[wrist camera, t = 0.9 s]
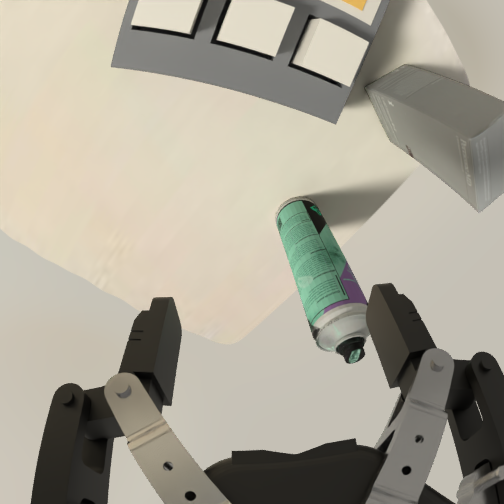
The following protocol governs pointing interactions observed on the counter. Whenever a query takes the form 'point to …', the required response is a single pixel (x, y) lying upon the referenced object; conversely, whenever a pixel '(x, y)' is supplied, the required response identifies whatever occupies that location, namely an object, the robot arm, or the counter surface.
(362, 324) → the spray can
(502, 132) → the skincare box
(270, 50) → the middle button
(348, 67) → the button
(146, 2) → the button
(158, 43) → the button panel
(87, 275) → the counter surface
